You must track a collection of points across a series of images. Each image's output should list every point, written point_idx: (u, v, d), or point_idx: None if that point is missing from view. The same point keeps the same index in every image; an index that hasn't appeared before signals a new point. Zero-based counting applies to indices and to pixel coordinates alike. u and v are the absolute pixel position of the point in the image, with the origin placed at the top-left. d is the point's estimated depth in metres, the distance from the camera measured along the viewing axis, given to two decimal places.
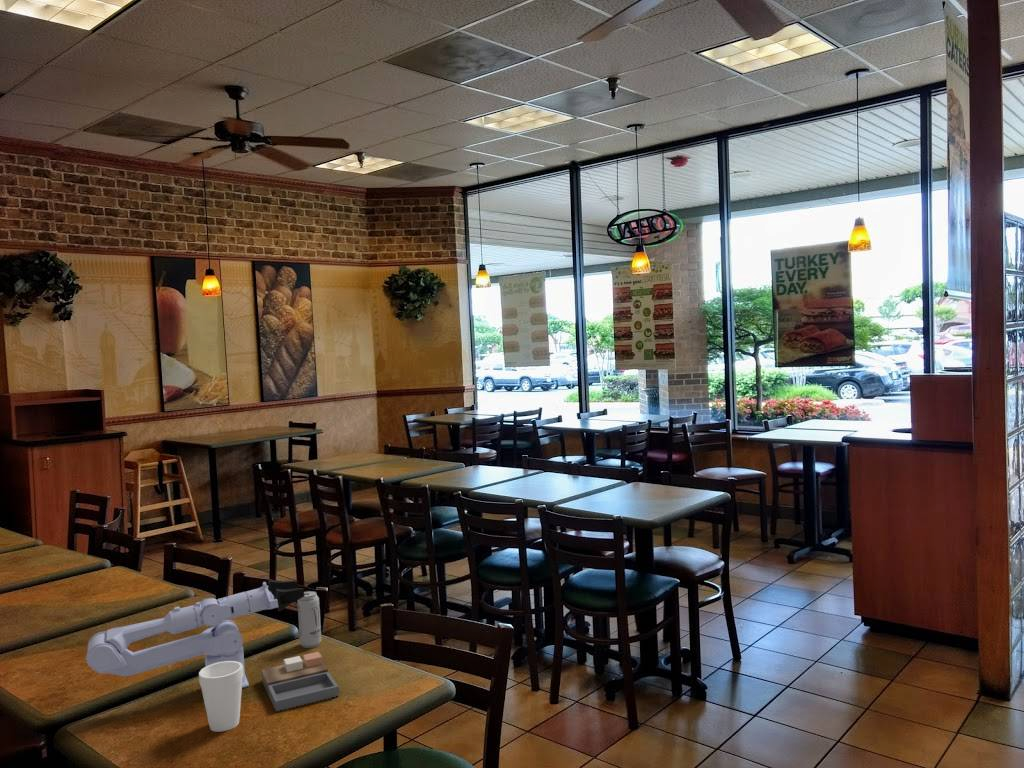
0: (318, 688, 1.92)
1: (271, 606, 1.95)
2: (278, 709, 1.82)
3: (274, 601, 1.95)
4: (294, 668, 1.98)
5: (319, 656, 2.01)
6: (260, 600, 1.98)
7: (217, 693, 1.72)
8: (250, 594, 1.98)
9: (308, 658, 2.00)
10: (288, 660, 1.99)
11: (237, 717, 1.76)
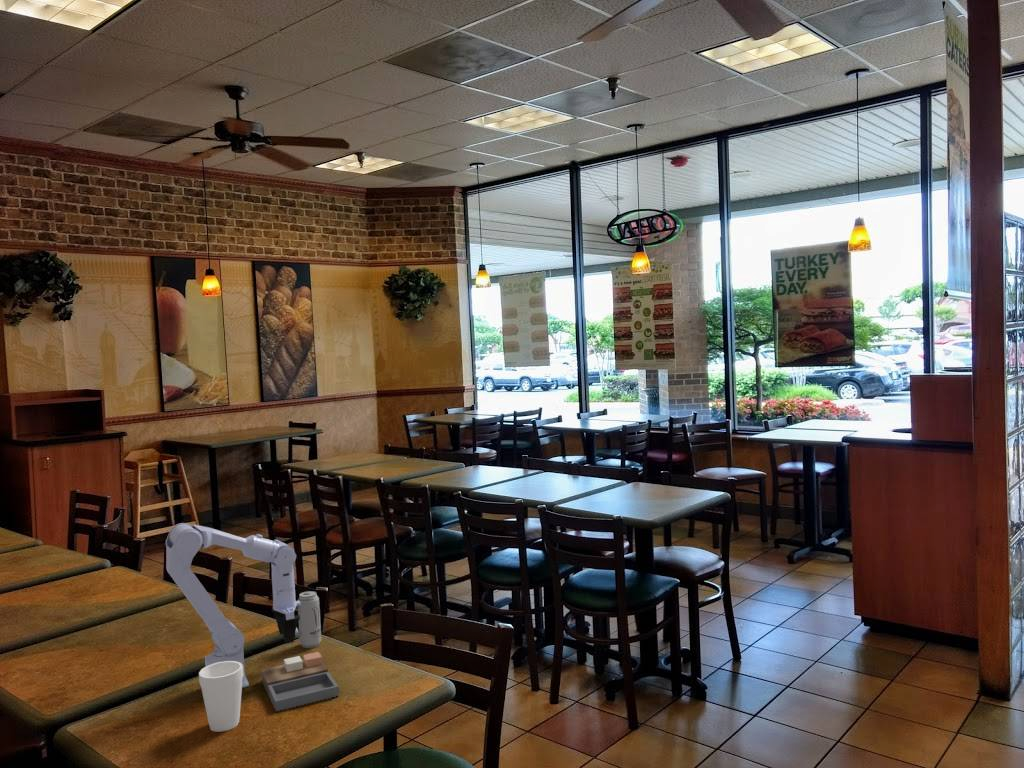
0: (318, 688, 1.92)
1: (288, 613, 1.99)
2: (278, 709, 1.82)
3: (293, 615, 2.00)
4: (294, 668, 1.98)
5: (319, 656, 2.01)
6: (288, 600, 2.03)
7: (217, 693, 1.72)
8: (294, 590, 2.05)
9: (308, 658, 2.00)
10: (288, 660, 1.99)
11: (237, 717, 1.76)
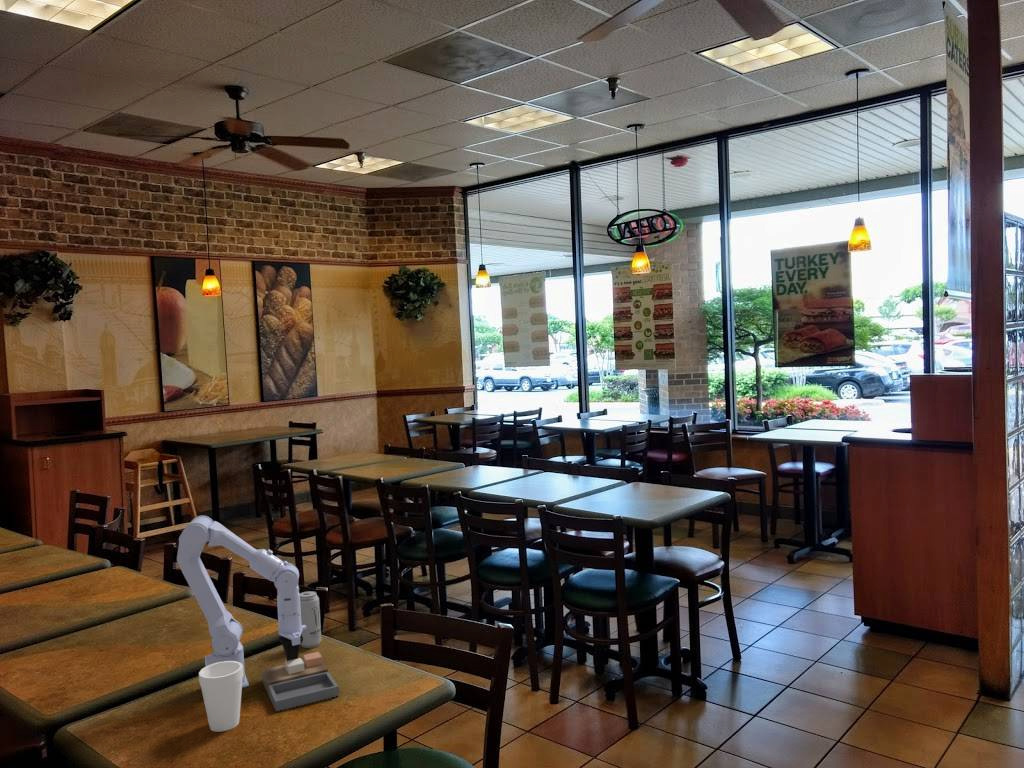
0: (318, 688, 1.92)
1: (294, 638, 1.94)
2: (278, 709, 1.82)
3: (299, 641, 1.94)
4: (295, 670, 1.96)
5: (319, 656, 2.01)
6: (294, 625, 1.98)
7: (217, 693, 1.72)
8: (300, 614, 2.00)
9: (308, 658, 2.00)
10: (289, 662, 1.98)
11: (237, 717, 1.76)
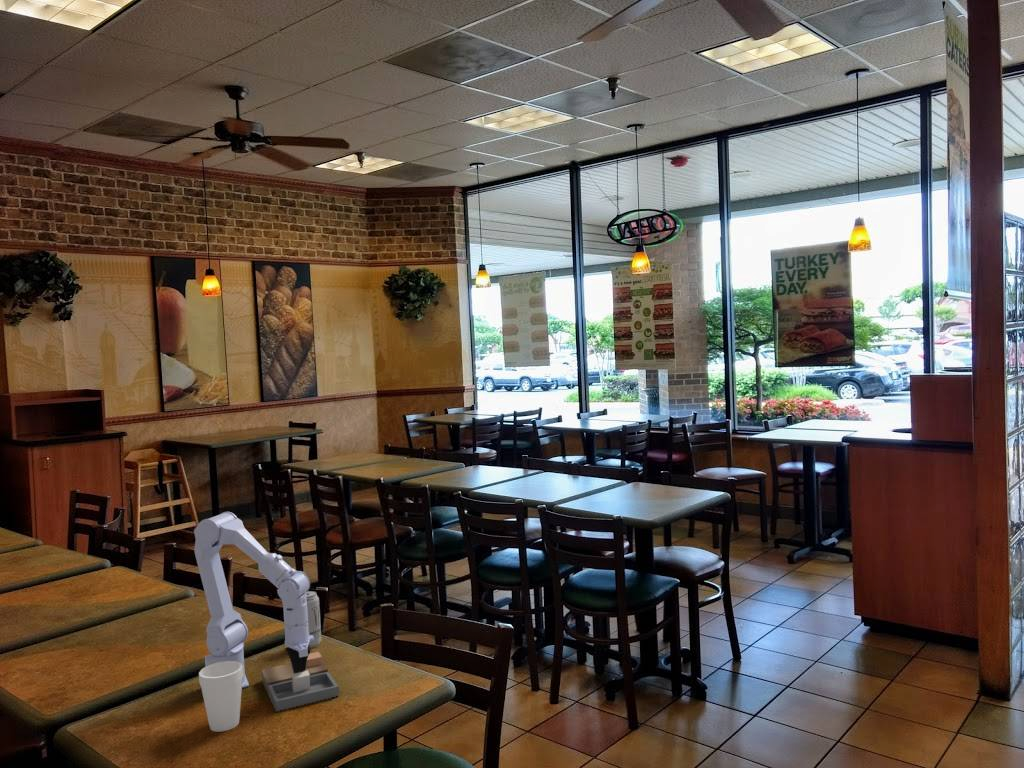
0: (318, 688, 1.92)
1: (302, 650, 1.86)
2: (278, 709, 1.82)
3: (306, 653, 1.87)
4: None
5: (319, 656, 2.01)
6: (301, 635, 1.90)
7: (217, 693, 1.72)
8: (307, 625, 1.92)
9: (308, 658, 2.00)
10: (296, 683, 1.90)
11: (237, 717, 1.76)
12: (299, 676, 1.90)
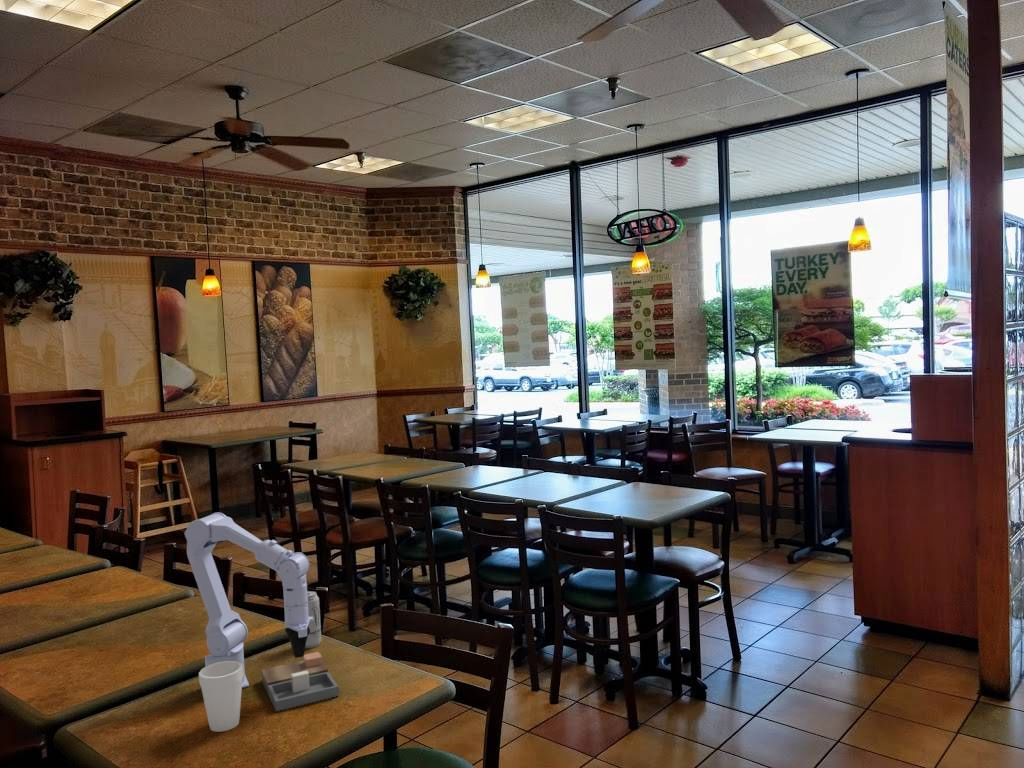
0: (318, 688, 1.92)
1: (301, 630, 1.86)
2: (278, 709, 1.82)
3: (306, 633, 1.87)
4: None
5: (319, 656, 2.01)
6: (301, 616, 1.90)
7: (217, 693, 1.72)
8: (307, 605, 1.92)
9: (308, 658, 2.00)
10: (296, 682, 1.91)
11: (237, 717, 1.76)
12: (298, 674, 1.91)
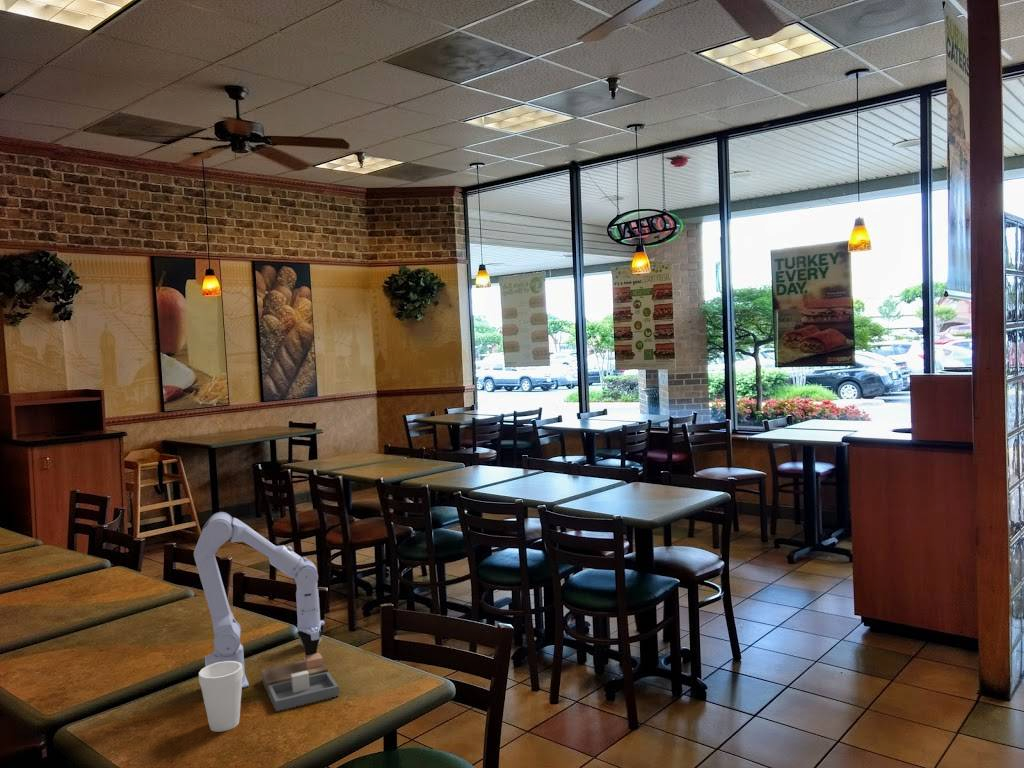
0: (318, 688, 1.92)
1: (314, 633, 1.97)
2: (278, 709, 1.82)
3: (318, 636, 1.97)
4: None
5: (320, 657, 2.00)
6: (313, 620, 2.01)
7: (217, 693, 1.72)
8: (318, 610, 2.03)
9: (309, 659, 1.99)
10: (296, 682, 1.91)
11: (237, 717, 1.76)
12: (298, 674, 1.91)
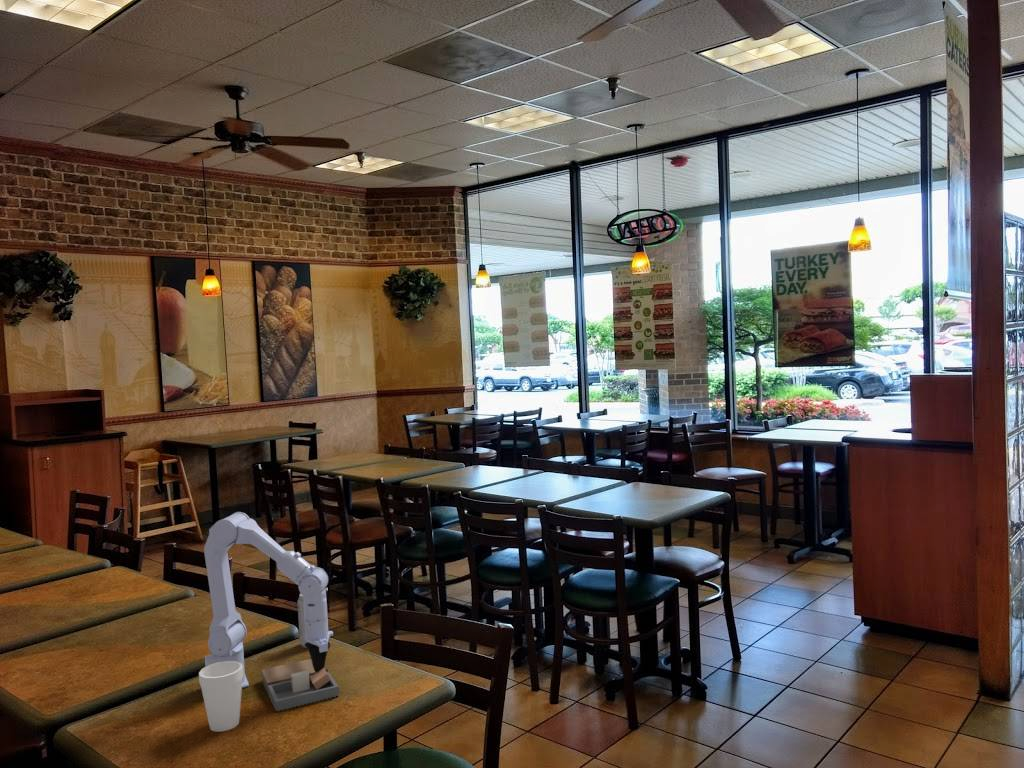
0: None
1: (322, 645, 1.89)
2: (278, 709, 1.82)
3: (326, 648, 1.89)
4: None
5: (324, 674, 1.92)
6: (321, 631, 1.93)
7: (217, 693, 1.72)
8: (327, 620, 1.95)
9: (314, 680, 1.91)
10: (296, 682, 1.91)
11: (237, 717, 1.76)
12: (298, 674, 1.91)
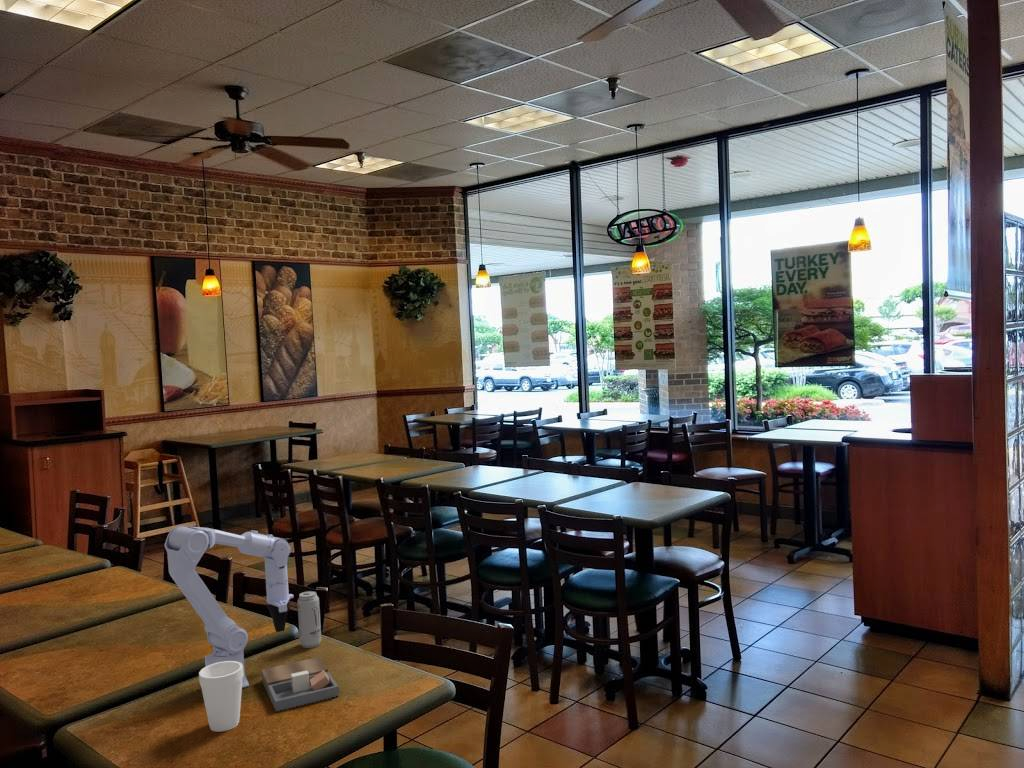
0: None
1: (281, 606, 2.02)
2: (278, 709, 1.82)
3: (286, 608, 2.03)
4: None
5: (323, 676, 1.91)
6: (281, 593, 2.06)
7: (217, 693, 1.72)
8: (287, 583, 2.08)
9: (313, 683, 1.90)
10: (296, 682, 1.91)
11: (237, 717, 1.76)
12: (298, 674, 1.91)
